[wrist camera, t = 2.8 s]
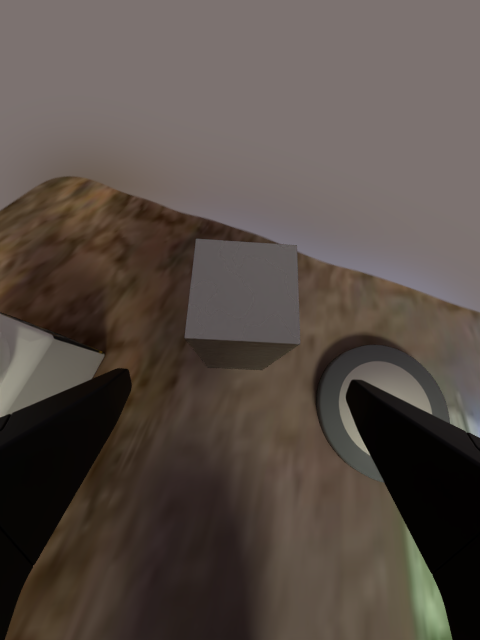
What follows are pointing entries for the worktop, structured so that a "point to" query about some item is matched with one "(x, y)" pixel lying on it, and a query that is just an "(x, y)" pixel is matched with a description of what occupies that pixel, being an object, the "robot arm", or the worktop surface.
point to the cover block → (243, 303)
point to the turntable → (384, 373)
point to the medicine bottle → (39, 363)
